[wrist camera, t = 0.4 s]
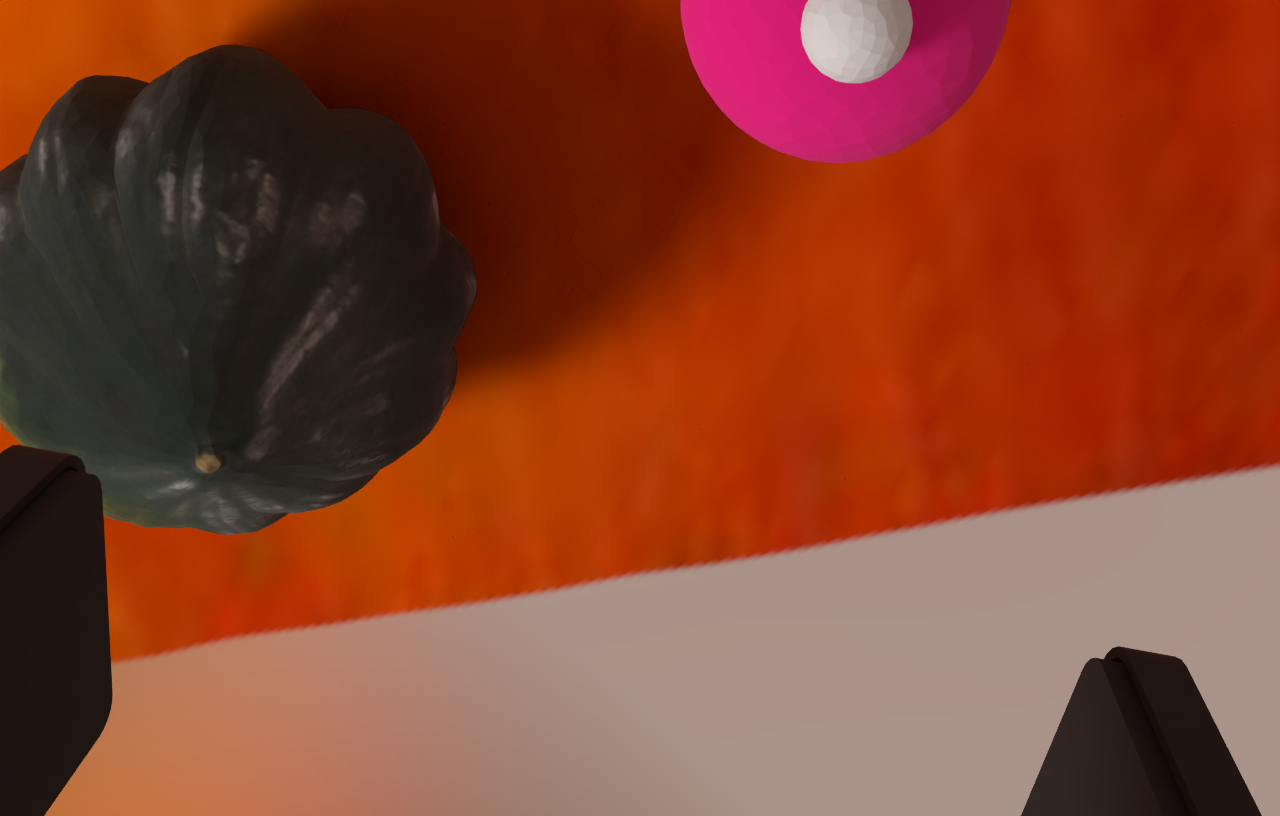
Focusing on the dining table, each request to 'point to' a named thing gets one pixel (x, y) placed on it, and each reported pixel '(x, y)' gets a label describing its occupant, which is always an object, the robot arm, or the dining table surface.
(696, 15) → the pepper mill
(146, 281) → the squash
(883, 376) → the dining table surface
